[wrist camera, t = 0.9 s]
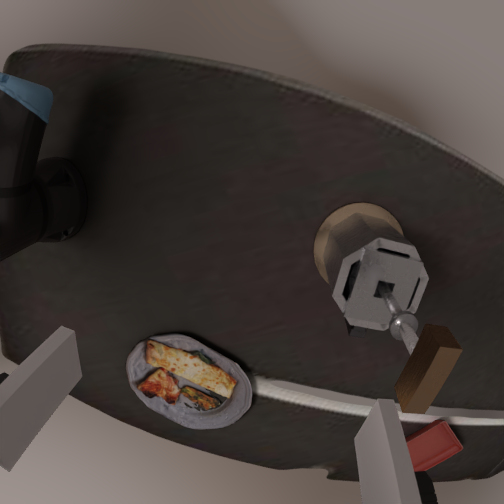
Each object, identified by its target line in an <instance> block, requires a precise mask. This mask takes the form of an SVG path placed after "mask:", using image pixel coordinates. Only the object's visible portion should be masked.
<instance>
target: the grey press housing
mask: <svg viewBox="0 0 504 504" xmlns="http://www.w3.org/2000/svg"><path fill="white" fill-rule="evenodd" d="M377 249H383V250H387V251H390V252H392V253H389V252H385V251H381V250H377ZM313 251H314V259H315V263H316V266H317V269H318V271H319V273H320V275H321V276H322V277H323V279H324V280H325V281H326V282H327V283H328V284H329V285H330V289H331V293H332V296H333V298H334V300H335V301H336V303H337V304H338V306H339V308H340V309H341V311H342V313H343V316H344V317H345V321H346V325H347V329H348V333H349V336H354V337H360V338H364V336H365V334H366V328H371V329H376V330H382V331H384V330H386V329H388V328H389V322H390V320H391V318H392V316H391V314H390V312H389V310H388V309H387V307H386V305H385V303H384V301H383V299H382V297H381V296H380V295H375V294H374V293H375V290H376V287H377V284H378V282H379V280H380V281H385V282H389V283H392V286H391V289H390V290H391V292H392V293H393V295H394V297H395V298H396V300H397V302H398V304H399V305H400V307H401V309H402V310H403V311H410V312H412V313H413V314H414V313H415V312H416V310H417V308H418V306H419V303H420V301H421V298H422V295H423V293H424V290H425V288H426V285H427V282H428V280H429V277H428V275H427V273H426V270H425V268H424V266H423V262H422V261H421V259H420V257H419V255H418V252H417V250H416V248H415V246H414V245H413V244H412V243H410V242H409V241H408V240H407V239H406V238H405V237H404V235H403V231H402V229H401V227H400V225H399V223H398V221H397V220H396V219H395V218H394V216H393V215H391V214H390V213H389V212H388V211H387V210H385V209H384V208H382V207H380V206H378V205H375V204H372V203H367V202H355V203H350V204H346V205H344V206H341V207H339V208H338V209H336V210H334V211H333V212H332V213H331V214H329V215H328V216H327V217H326V218H325V220H324V221H323V222H322V224H321V225H320V227H319V229H318V231H317V233H316V236H315V240H314V249H313ZM358 260H360V262H359V265H358V268H357V272H356V275H355V278H354V281H353V284H352V287H351V290H350V287H349V283H348V278H349V272H350V270H351V267H352V265H353V264H354V263H355V262H356V261H358Z"/></svg>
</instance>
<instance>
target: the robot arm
mask: <svg viewBox="0 0 504 504" xmlns="http://www.w3.org/2000/svg"><path fill="white" fill-rule="evenodd" d="M52 103H53V94H52V92H51V90H50V89H49V88H47V87H44V86H42V85H39V84H36V83H33V82H30V81H27V80H24V79H21V78H17V77H14V76H11V75H8V74H5V73H1V72H0V261H2V260H4V259H6V258H7V257H9V256H11V255H13V254H15V253H17V252H19V251H21V250H22V249H24V248H26V247H28V246H30V245H32V244H34V243H36V242H60V241H63V240H66V239H68V238H70V237H72V236H73V235H74V234H76V233H77V232H78V230H79V229H80V228H81V226H82V224H83V222H84V219H85V216H86V211H87V193H86V188H85V185H84V182H83V179H82V177H81V175H80V173H79V172H78V170H77V169H76V168H75V166H74V165H73V164H71V163H70V162H69V161H67V160H65V159H63V158H59V157H53V158H46V159H43V160H40V161H38V162H37V160H38V155H39V151H40V147H41V143H42V139H43V136H44V132H45V128H46V125H47V124H48V123H49V120H48V118H49V114H50V110H51V106H52ZM81 377H82V373H81V368H80V362H79V356H78V350H77V344H76V337H75V331H73V330H71V329H68V328H65V327H63V326H61V327H60V328H59V329H58V330H56V331H55V332H54V333H53V334H52V335H51V336H50V337H49V338H48V339H47V340H46V341H45V342H43V343H42V344H41V345H40V346H39V347H38V348H37V349H36V350H35V351H34V352H33V353H32V354H31V355H30V356H29V357H28V358H27V359H26V360H24V361H23V362H22V363H21V364H20V365H19V366H18V367H17V368H16V369H15V370H14V371H13V372H12V373H11V374H10V375H8V374H6V373H2V374H0V466H2V467H3V468H4V469H6V470H7V471H8V472H10V471H11V469H12V468H13V466H14V465H15V463H16V462H17V461H18V459H19V458H20V457H21V455H22V454H23V452H24V451H25V450H26V448H27V447H28V446H29V444H30V443H31V442H32V440H33V439H34V438H35V436H36V435H37V434H38V432H39V431H40V430H41V428H42V427H43V426H44V424H45V423H46V422H47V421H48V419H49V418H50V417H51V415H52V414H53V413H54V411H55V410H56V409H57V408H58V406H59V405H60V404H61V402H62V401H63V400H64V399H65V397H66V396H67V395H68V394H69V392H70V391H71V390H72V389H73V387H74V386H75V385H76V384H77V382H78V381H79V380H80V379H81ZM354 441H355V448H356V456H357V463H358V471H359V479H360V487H361V497H362V504H438V502H437V497H436V494H435V490H434V486H433V482H432V480H431V478H430V477H429V476H428V474H427V473H426V472H425V471H416V472H414V469H413V465H412V462H411V458H410V454H409V450H408V447H407V443H406V440H405V436H404V433H403V429H402V426H401V422H400V419H399V416H398V413H397V409H396V406H395V403H394V400H390V399H377V401H376V403H375V404H374V406H373V408H372V410H371V411H370V413H369V415H368V417H367V418H366V420H365V422H364V423H363V425H362V427H361V429H360V430H359V432H358V433H357V435H356V437H355V438H354Z"/></svg>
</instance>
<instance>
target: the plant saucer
mask: <svg viewBox="0 0 504 504" xmlns="http://www.w3.org/2000/svg"><path fill="white" fill-rule="evenodd" d="M405 440H406V443H407V447H408V450H409V454H410V458H411V462H412V465H413V469H414V472H416V471H426V470H427V469H429V468H431V467H433V466H435V465H437V464H439V463H440V462H442V461H444V460H446V459H447V458H449V457H451V456H453V455H454V454H456V453H458V452H459V451H461V450H462V449H463V446H462V445H461V443H460V442H459V440H458V439H457V437H456V436H455V434H454V433H453V431H452V430H451V428H450V426H449V425H448V423H447V422H446V421H444V420H435V421H434V422H432V423H430V424H429V425H427V426H425V427H424V428H422V429H420V430H419V431H417V432H415V433H413V434H411V435H410V436H408V437H406V438H405Z"/></svg>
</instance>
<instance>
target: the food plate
mask: <svg viewBox="0 0 504 504" xmlns="http://www.w3.org/2000/svg"><path fill="white" fill-rule="evenodd" d="M125 367H126V373H127V377H128V382H129V385H130V387H131V388H132V389H133V391H134V392H136V394H137V396H138V398H140V399H141V400H142V401H143V402H144V403H145V404H146V406H148V407H149V408H150V409H152V410H154V411H155V412H157V413H159V414H161V415H163V416H164V417H166V418H168V419H170V420H172V421H174V422H176V423H178V424H181V425H182V426H184V427H189V428H193V429H214V428H215V429H216V428H220V427H221V428H222V427H225V426H228V425H230V424H232V423H235V421H237V420H239V418H241V416H242V415H243V414H244V413H245V412H246V411H247V410H248V409H249V408H250V406H251V402H252V388H251V384H250V381H249V379H248V377H247V376H246V374H245V372H244V371H243V370H242V369H241V368H240V366H239V365H238V363H235V362H233V361H232V360H230V359H228V358H226V357H225V356H223V355H221V354H220V353H218V352H217V351H214V350H213V349H211V348H208V347H207V346H205V345H204V344H202V343H200V342H198V341H196V340H195V339H192V338H191V337H188V336H185V335H183V334H177V333H176V334H175V333H171V334H162V335H153V336H152V335H151V336H149V337H148V338H147V339H144V340H141V341H139V342H138V343H137V344H136V346H135V347H133V349H132V350H131V352H130V353H129V355H128V357H127V359H126V363H125ZM171 373H173V374H174V375H171ZM204 388H206V389H209V390H212V391H214V392H216V393H218V394H220V395H222V396H226V397H227V399H226V400H225V402H224V403H223V404H222V405H221V406H220V407H219V408H216V409H213V410H212V411H211V410H208V409H210V408H211V407H214V408H215V407H216V406H218V405H220V400H218V399H217V398H215V397H214V396H212V395H210V393H208V392H210V391H207V390H205V389H204ZM206 391H207V392H206ZM180 402H181V403H180ZM184 402H186V403H187V405H188V404H189V405H190V406H192V407H193V404H191V403H196V404H197V407H198V404H199V405H200V406H201V407H203V408H204V409H205V410H206V409H207V410H208V411H202V410H201V411H198V410H196V409H191V410H190V409H188V408H189V407H187V408H185V407H186V406H185V404H184ZM177 404H178V405H177ZM180 404H181V405H180ZM180 406H181V407H182V406H183V408H181V407H180ZM194 406H195V405H194ZM195 407H196V406H195Z"/></svg>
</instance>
